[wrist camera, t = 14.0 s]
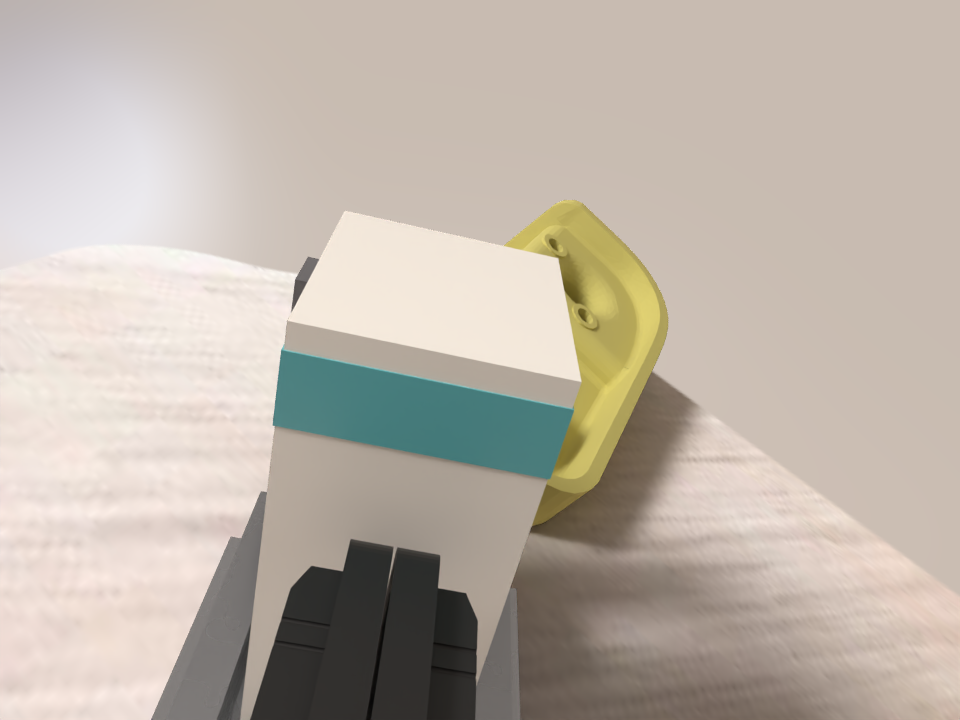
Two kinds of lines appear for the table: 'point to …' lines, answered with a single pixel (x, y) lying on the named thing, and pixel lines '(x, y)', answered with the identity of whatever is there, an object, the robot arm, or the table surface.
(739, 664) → the table surface
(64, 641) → the table surface
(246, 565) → the rail plate
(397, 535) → the block
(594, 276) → the plastic component
